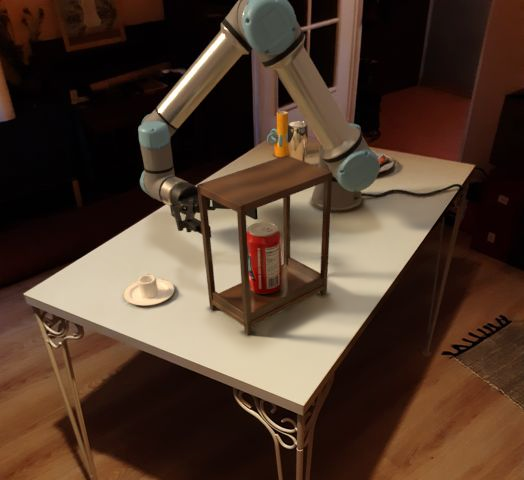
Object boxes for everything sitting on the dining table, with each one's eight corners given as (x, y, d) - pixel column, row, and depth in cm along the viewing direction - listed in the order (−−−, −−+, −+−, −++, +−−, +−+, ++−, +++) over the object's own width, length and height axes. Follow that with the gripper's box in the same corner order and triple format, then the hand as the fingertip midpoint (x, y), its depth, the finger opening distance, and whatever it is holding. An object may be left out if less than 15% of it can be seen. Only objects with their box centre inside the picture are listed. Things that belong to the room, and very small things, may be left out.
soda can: (273, 299, 127) (272, 239, 118) (242, 292, 129) (238, 233, 120) (287, 282, 132) (286, 223, 123) (256, 276, 135) (254, 218, 126)
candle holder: (132, 280, 141) (129, 265, 138) (179, 281, 140) (177, 266, 137) (118, 307, 132) (114, 291, 129) (168, 308, 131) (165, 293, 128)
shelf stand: (209, 308, 130) (196, 184, 112) (287, 272, 142) (286, 155, 124) (247, 335, 122) (240, 206, 103) (326, 294, 133) (332, 171, 115)
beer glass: (286, 165, 201) (285, 121, 192) (305, 163, 201) (306, 120, 192) (288, 172, 195) (288, 127, 186) (308, 170, 196) (309, 126, 187)
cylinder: (294, 161, 203) (294, 118, 194) (265, 160, 205) (264, 117, 196) (299, 149, 213) (299, 108, 204) (272, 148, 215) (271, 107, 205)
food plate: (406, 165, 197) (408, 155, 195) (366, 185, 184) (367, 174, 182) (349, 150, 211) (350, 140, 209) (308, 167, 198) (309, 157, 196)
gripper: (222, 196, 151) (274, 221, 138) (141, 225, 139) (190, 255, 126) (220, 168, 146) (274, 192, 133) (136, 196, 134) (186, 224, 121)
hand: (233, 223), depth 130 cm, fingers open, 13 cm apart
